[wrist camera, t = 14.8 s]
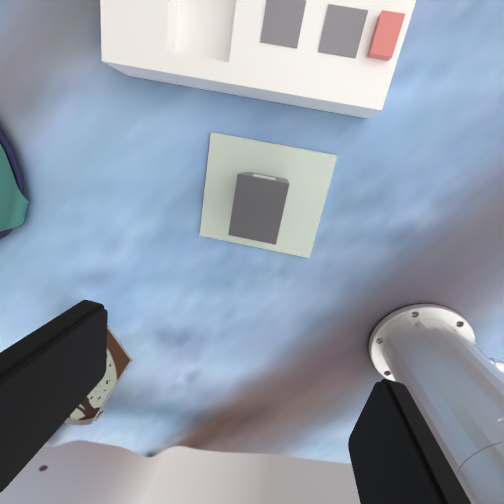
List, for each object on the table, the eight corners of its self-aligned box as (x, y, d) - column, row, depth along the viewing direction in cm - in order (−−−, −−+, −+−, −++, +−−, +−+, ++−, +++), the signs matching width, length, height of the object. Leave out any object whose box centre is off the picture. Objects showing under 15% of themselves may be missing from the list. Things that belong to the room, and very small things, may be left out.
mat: (336, 155, 27) (337, 155, 27) (308, 256, 31) (309, 258, 31) (212, 132, 28) (210, 131, 27) (200, 234, 32) (199, 235, 32)
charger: (287, 177, 28) (289, 181, 21) (277, 225, 30) (275, 244, 22) (249, 170, 28) (237, 171, 21) (241, 218, 30) (228, 235, 23)
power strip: (403, -5, 23) (434, -47, 18) (367, 118, 26) (385, 108, 21) (127, -48, 24) (91, -98, 19) (126, 75, 27) (95, 57, 23)
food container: (63, 317, 39) (-7, 365, 29) (92, 304, 37) (29, 350, 28) (108, 376, 42) (58, 437, 33) (137, 366, 41) (93, 427, 31)
